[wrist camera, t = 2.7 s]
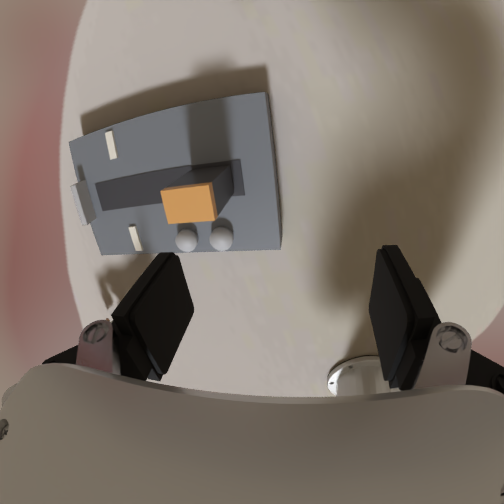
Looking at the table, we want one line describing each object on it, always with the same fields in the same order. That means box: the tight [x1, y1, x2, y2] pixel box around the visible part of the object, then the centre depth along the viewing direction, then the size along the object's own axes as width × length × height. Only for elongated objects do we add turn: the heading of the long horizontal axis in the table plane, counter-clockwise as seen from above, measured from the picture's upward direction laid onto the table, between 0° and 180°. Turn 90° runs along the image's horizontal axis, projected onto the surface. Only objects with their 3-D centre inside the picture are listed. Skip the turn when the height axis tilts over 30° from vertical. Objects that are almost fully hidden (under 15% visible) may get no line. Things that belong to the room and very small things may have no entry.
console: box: [69, 92, 282, 255], centre depth 28 cm, size 24×16×5 cm, turn 97°
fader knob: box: [160, 165, 234, 224], centre depth 23 cm, size 4×3×7 cm
